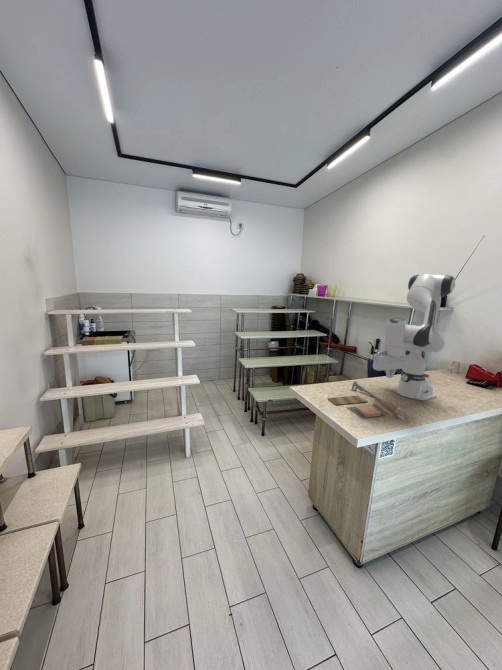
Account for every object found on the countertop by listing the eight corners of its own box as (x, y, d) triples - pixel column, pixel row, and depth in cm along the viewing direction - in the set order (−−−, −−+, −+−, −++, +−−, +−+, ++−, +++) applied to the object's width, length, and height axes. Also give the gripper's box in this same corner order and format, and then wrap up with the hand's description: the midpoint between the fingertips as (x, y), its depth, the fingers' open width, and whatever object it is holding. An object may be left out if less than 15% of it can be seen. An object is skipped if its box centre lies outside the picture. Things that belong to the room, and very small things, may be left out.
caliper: (351, 389, 160) (352, 380, 159) (352, 389, 161) (353, 380, 159) (383, 402, 143) (384, 391, 142) (384, 402, 144) (385, 391, 143)
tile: (368, 405, 132) (380, 412, 125) (368, 408, 133) (380, 416, 125) (355, 406, 130) (367, 414, 123) (355, 410, 130) (366, 417, 123)
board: (357, 397, 148) (358, 395, 148) (367, 403, 140) (367, 401, 140) (327, 400, 142) (327, 398, 142) (336, 406, 135) (336, 404, 134)
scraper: (379, 405, 139) (381, 396, 138) (404, 419, 124) (406, 409, 123) (372, 405, 138) (373, 397, 137) (396, 420, 122) (398, 410, 122)
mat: (368, 406, 137) (368, 405, 137) (385, 416, 126) (385, 416, 125) (346, 408, 133) (346, 407, 133) (362, 419, 122) (362, 418, 122)
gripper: (381, 353, 121) (377, 381, 124) (414, 351, 127) (410, 377, 130) (371, 350, 127) (368, 376, 129) (403, 348, 133) (399, 373, 136)
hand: (389, 377), depth 130 cm, fingers closed
